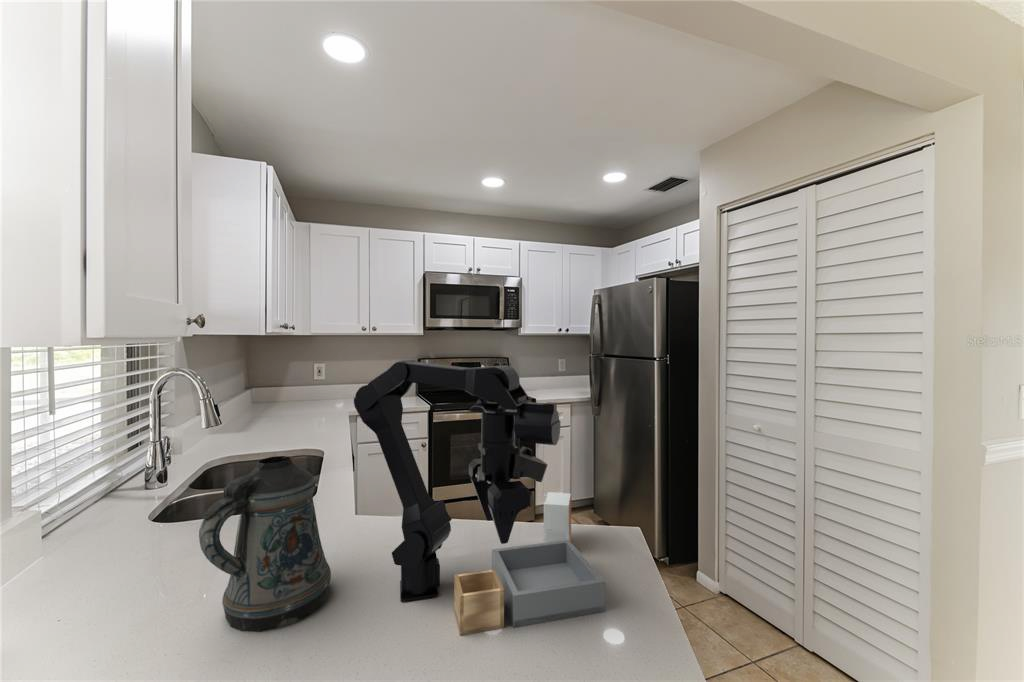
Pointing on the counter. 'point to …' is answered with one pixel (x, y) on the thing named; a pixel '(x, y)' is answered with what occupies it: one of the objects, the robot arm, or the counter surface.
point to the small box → (557, 517)
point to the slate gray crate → (547, 582)
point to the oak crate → (478, 602)
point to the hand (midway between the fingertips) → (496, 531)
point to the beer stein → (269, 547)
